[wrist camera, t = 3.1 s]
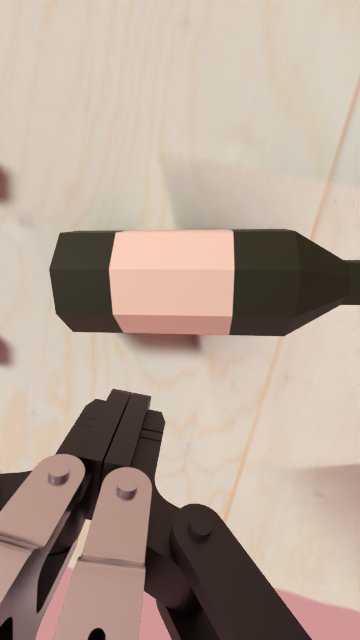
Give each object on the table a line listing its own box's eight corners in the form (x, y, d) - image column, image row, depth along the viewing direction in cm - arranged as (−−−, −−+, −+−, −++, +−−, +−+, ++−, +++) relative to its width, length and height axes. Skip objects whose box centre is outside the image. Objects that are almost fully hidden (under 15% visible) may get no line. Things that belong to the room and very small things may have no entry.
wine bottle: (92, 333, 29) (430, 340, 26) (46, 330, 21) (534, 340, 18) (95, 246, 29) (428, 244, 27) (52, 209, 21) (526, 202, 19)
